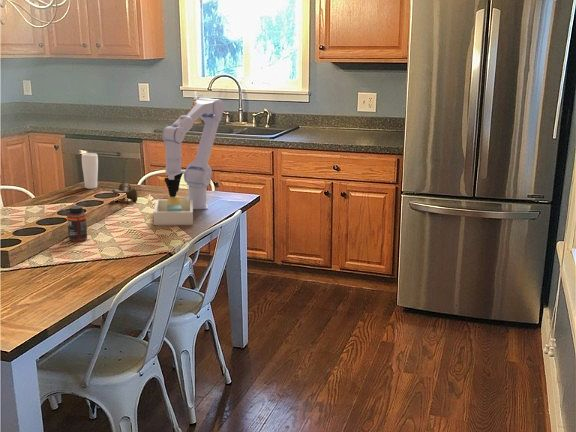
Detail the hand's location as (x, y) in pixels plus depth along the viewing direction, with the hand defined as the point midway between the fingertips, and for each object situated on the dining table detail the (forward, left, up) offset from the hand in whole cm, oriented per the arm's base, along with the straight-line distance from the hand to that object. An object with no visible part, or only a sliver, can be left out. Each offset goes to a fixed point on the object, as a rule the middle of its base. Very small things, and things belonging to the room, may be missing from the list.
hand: (174, 194), depth 237 cm
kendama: (-25, -21, -9) cm, 34 cm away
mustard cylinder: (0, 0, -8) cm, 8 cm away
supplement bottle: (+28, -31, -9) cm, 42 cm away
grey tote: (+4, 0, -9) cm, 9 cm away
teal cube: (+7, 0, -8) cm, 11 cm away
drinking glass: (-44, -37, -9) cm, 59 cm away
